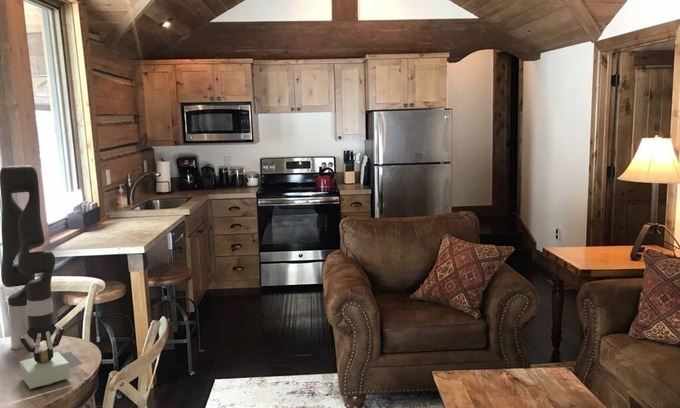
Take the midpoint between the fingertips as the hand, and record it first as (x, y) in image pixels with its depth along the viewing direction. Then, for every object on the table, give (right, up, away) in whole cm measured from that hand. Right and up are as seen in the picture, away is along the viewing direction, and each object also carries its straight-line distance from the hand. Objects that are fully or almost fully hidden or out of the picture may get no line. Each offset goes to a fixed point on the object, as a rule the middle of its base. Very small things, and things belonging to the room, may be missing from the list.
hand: (43, 360), depth 182 cm
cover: (0, -6, +1) cm, 6 cm away
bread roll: (0, -8, +1) cm, 8 cm away
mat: (-3, -5, +14) cm, 15 cm away
